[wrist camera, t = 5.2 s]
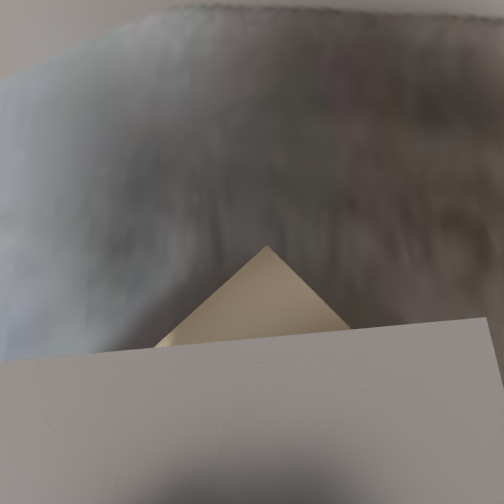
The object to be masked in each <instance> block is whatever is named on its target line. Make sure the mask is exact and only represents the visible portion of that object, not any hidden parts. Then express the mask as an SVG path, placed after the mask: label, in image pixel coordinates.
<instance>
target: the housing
mask: <svg viewBox="0 0 504 504" xmlns="http://www.w3.org/2000/svg"><path fill="white" fill-rule="evenodd" d="M0 504H504V388H503V384H502V380H501V375H500V371H499V367H498V363H497V359H496V355H495V351H494V347H493V343H492V339H491V335H490V331H489V327H488V323H487V319H486V317H482V318H472V319H461V320H450V321H439V322H428V323H417V324H406V325H395V326H385V327H374V328H363V329H352V330H341V331H330V332H319V333H308V334H297V335H287V336H276V337H265V338H254V339H243V340H232V341H221V342H210V343H199V344H189V345H178V346H167V347H156V348H145V349H134V350H123V351H112V352H102V353H91V354H80V355H69V356H58V357H47V358H36V359H25V360H14V361H4V362H0Z"/></svg>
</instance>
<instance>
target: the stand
mask: <svg viewBox="0 0 504 504" xmlns="http://www.w3.org/2000/svg"><path fill="white" fill-rule="evenodd" d="M341 330H352V329H351V328H350V327H349V326H348V325H347V324H346V323H345V322H344V321H343V320H342V319H341V318H340V317H339V316H338V315H337V314H336V313H335V312H334V311H333V310H332V309H331V308H330V307H329V306H328V305H327V304H326V303H325V302H324V301H323V300H322V299H321V298H320V297H319V296H318V295H317V294H316V293H315V292H314V291H313V290H312V289H311V288H310V287H309V286H308V285H307V284H306V283H305V282H304V281H303V280H302V279H301V278H300V277H299V276H298V275H297V274H296V273H295V272H294V271H293V270H292V269H291V268H290V267H289V266H288V265H287V264H286V263H285V262H284V261H283V260H282V259H281V258H280V257H279V256H278V255H277V254H276V253H275V252H274V251H273V250H272V249H271V248H270V247H269V246H268V245H266V246H265V247H264V248H263V249H262V250H261V251H260V252H259V253H257V254H256V255H255V256H254V257H253V258H252V259H251V260H250V261H249V262H248V263H246V264H245V265H244V266H243V267H242V268H241V269H240V270H239V271H238V272H236V273H235V274H234V275H233V276H232V277H231V278H230V279H229V280H228V281H227V282H225V283H224V284H223V285H222V286H221V287H220V288H219V289H218V290H217V291H215V292H214V293H213V294H212V295H211V296H210V297H209V298H208V299H207V300H206V301H204V302H203V303H202V304H201V305H200V306H199V307H198V308H197V309H196V310H194V311H193V312H192V313H191V314H190V315H189V316H188V317H187V318H186V319H184V320H183V321H182V322H181V323H180V324H179V325H178V326H177V327H176V328H175V329H173V330H172V331H171V332H170V333H169V334H168V335H167V336H166V337H165V338H163V339H162V340H161V341H160V342H159V343H158V344H157V345H156V346H155V347H154V348H156V347H167V346H178V345H189V344H199V343H210V342H221V341H232V340H243V339H254V338H265V337H276V336H287V335H297V334H308V333H319V332H330V331H341Z"/></svg>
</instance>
